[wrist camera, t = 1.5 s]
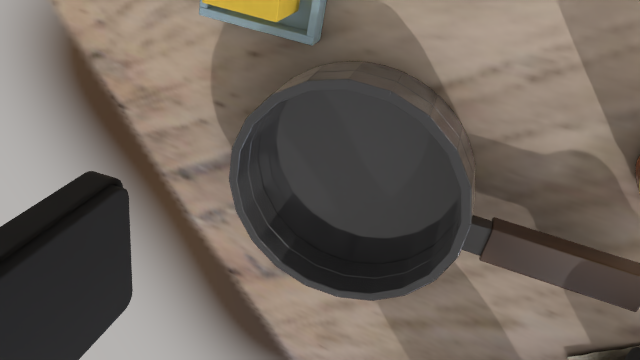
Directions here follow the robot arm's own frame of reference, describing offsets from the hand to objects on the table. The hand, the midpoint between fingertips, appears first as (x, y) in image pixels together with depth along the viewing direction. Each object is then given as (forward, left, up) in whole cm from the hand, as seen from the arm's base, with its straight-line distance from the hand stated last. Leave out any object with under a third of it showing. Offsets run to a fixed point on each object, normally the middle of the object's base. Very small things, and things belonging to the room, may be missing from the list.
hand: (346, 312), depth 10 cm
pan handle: (+10, +9, -21) cm, 25 cm away
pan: (+10, -3, -23) cm, 26 cm away
